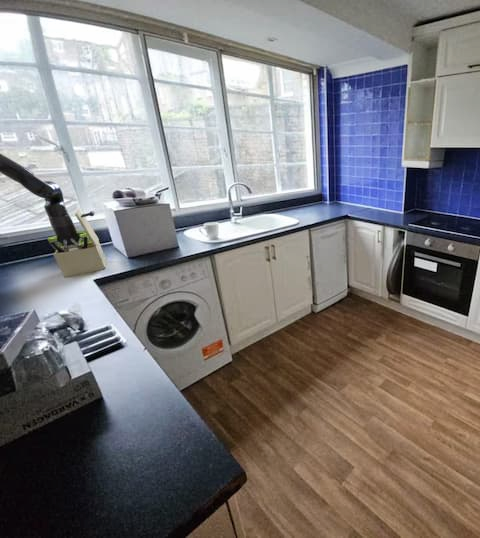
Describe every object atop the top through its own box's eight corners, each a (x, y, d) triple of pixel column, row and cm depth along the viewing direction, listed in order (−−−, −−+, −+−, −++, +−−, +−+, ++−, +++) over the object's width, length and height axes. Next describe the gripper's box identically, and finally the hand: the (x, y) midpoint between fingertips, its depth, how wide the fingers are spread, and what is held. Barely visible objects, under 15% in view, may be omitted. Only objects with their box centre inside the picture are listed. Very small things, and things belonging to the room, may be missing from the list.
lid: (74, 214, 136) (90, 210, 139) (78, 210, 147) (92, 206, 149) (94, 246, 144) (109, 242, 147) (97, 240, 154) (110, 236, 157)
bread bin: (64, 277, 141) (53, 254, 136) (68, 268, 151) (58, 247, 146) (105, 268, 149) (96, 247, 144) (107, 261, 159) (98, 240, 155)
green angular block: (101, 251, 175) (92, 231, 170) (77, 260, 162) (67, 238, 157) (81, 251, 177) (72, 231, 172) (56, 260, 164) (45, 238, 159)
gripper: (83, 220, 146) (96, 253, 153) (44, 226, 139) (59, 259, 146) (81, 223, 141) (95, 256, 148) (40, 229, 133) (57, 264, 140)
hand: (77, 258), depth 147 cm, fingers closed on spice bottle, 4 cm apart
